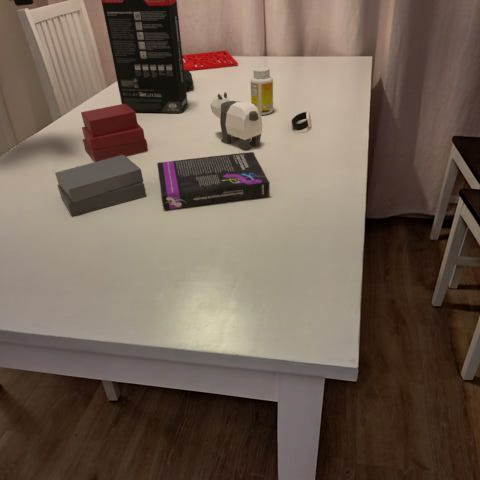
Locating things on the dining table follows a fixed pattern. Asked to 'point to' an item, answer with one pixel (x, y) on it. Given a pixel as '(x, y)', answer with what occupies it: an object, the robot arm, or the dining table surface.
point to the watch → (304, 124)
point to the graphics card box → (147, 54)
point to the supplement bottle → (262, 90)
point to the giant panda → (238, 121)
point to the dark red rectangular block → (109, 120)
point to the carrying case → (188, 80)
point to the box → (211, 180)
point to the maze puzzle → (208, 60)
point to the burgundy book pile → (115, 144)
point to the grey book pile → (100, 184)
